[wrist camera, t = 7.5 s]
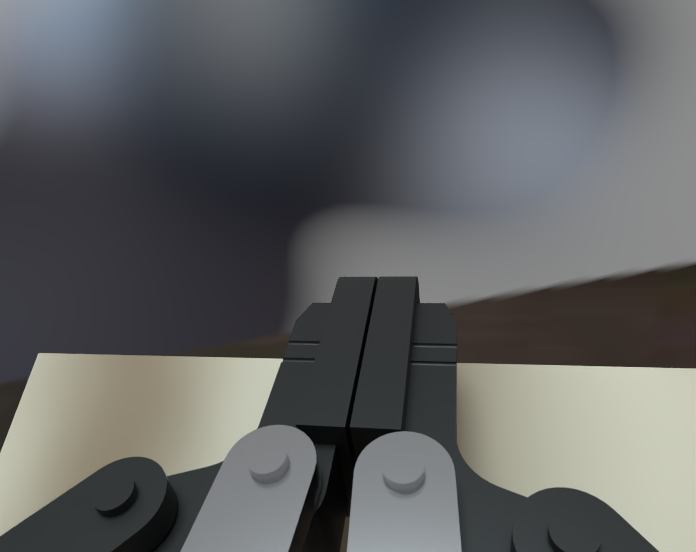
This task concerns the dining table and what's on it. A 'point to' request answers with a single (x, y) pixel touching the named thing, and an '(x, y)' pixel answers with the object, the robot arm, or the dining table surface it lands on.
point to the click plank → (472, 429)
